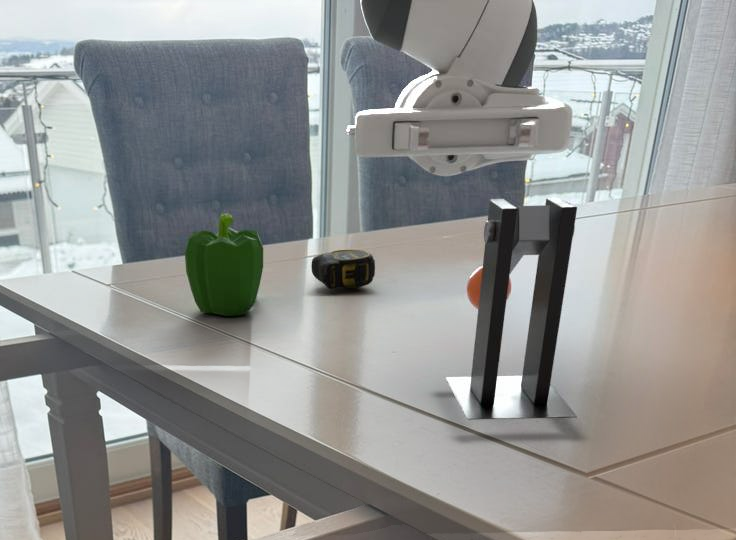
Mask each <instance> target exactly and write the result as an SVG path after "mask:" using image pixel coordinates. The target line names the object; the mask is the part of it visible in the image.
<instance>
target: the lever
mask: <svg viewBox="0 0 736 540" xmlns="http://www.w3.org/2000/svg"><path fill="white" fill-rule="evenodd" d="M516 208H517V217H516V225H515V234H514V242H513V250H512V258H511V267H510V274H511V273H512V272H513V271H514V269H515V268H516V266H517V265H518V264H519V262H520V261H521V260H522V258H524V256H539V254H540V252H541V251H542V250H543V248H544V247H545V246H546V245H547V243H548V242H549V241H550V205H544V204H543V205H541V204H540V205H518V206H517V207H516ZM482 269H483V265H482V266H480V267H478V268H477V269H476V270H474V272H473V273H471V275H470V277H469V279H468V281H467V284H466V295H467V298H468V301H469V302H470V304H471V305H472V306H473V307H474V308H476V309H477V310H478V307H479V298H480V288H481V279H482ZM511 291H512V281H511V276H509V283H508V291H507V300H506V302H507V301H508V299H509V297H510V295H511Z"/></svg>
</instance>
